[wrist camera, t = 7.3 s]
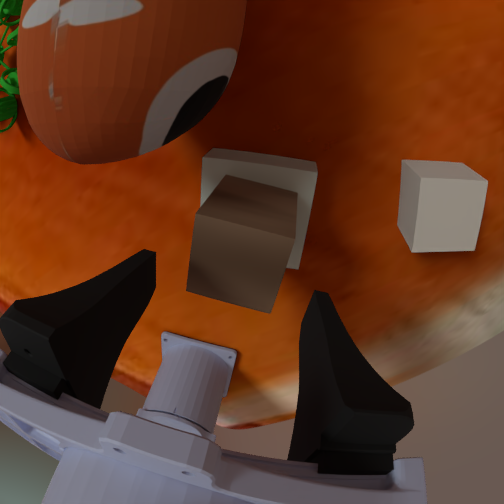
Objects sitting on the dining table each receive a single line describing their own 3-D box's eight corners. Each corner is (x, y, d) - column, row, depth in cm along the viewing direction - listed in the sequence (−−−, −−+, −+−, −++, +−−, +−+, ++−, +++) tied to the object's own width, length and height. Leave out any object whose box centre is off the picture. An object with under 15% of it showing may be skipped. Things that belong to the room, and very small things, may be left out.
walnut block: (279, 254, 21) (270, 313, 16) (214, 236, 21) (186, 290, 16) (297, 192, 19) (295, 239, 14) (225, 174, 19) (195, 213, 14)
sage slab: (299, 247, 24) (298, 269, 22) (210, 233, 25) (199, 253, 22) (315, 160, 20) (317, 172, 18) (214, 146, 21) (202, 157, 18)
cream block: (453, 223, 21) (474, 250, 17) (396, 224, 22) (411, 252, 18) (461, 162, 18) (488, 181, 15) (401, 159, 19) (420, 177, 16)
